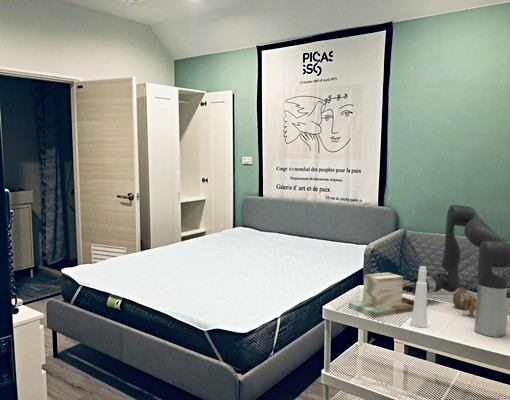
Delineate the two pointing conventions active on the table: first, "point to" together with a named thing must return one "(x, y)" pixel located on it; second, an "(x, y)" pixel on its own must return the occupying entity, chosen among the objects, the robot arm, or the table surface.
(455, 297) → the vase
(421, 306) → the cosmetic bottle
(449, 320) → the table surface
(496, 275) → the robot arm
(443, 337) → the table surface
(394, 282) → the maple block
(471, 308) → the lion figurine
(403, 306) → the trap box
